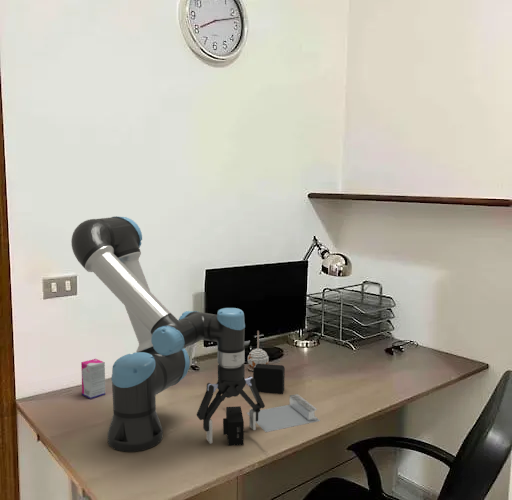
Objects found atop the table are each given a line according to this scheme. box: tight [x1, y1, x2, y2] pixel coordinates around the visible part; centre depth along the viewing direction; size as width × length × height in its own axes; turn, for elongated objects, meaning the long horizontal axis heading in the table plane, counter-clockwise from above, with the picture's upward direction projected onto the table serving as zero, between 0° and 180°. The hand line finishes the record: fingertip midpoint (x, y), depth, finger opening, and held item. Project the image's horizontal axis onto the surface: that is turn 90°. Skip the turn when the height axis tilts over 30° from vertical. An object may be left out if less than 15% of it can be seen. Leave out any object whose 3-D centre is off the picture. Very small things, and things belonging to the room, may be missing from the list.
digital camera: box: [222, 405, 245, 447], centre depth 157 cm, size 10×5×7 cm, turn 6°
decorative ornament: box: [246, 330, 270, 372], centre depth 211 cm, size 8×8×15 cm
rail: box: [289, 393, 318, 421], centre depth 170 cm, size 3×12×4 cm, turn 25°
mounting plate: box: [246, 404, 321, 433], centre depth 167 cm, size 18×14×2 cm
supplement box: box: [80, 358, 106, 400], centre depth 186 cm, size 6×6×12 cm
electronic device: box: [252, 363, 286, 395], centre depth 187 cm, size 4×10×10 cm, turn 78°
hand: (231, 436), depth 157 cm, fingers open, 12 cm apart
